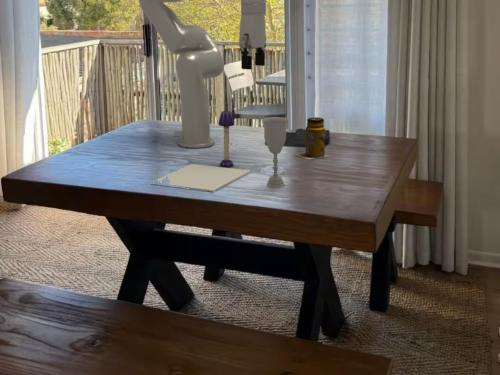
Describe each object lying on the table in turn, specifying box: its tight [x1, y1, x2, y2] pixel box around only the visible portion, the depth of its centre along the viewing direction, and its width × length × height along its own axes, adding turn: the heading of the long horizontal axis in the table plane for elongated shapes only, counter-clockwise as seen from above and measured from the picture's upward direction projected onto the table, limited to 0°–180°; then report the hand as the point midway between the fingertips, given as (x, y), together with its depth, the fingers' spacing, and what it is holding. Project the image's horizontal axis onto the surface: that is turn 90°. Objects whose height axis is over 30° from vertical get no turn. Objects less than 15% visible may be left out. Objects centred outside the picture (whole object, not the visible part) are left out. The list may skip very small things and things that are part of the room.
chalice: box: [261, 116, 289, 189], centre depth 180 cm, size 7×7×18 cm
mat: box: [153, 163, 252, 193], centre depth 190 cm, size 20×22×1 cm
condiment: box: [296, 116, 331, 160], centre depth 212 cm, size 7×8×12 cm
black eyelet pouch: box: [264, 128, 331, 148], centre depth 233 cm, size 15×22×5 cm
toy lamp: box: [217, 110, 235, 168], centre depth 201 cm, size 5×5×17 cm
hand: (253, 67), depth 207 cm, fingers open, 9 cm apart
